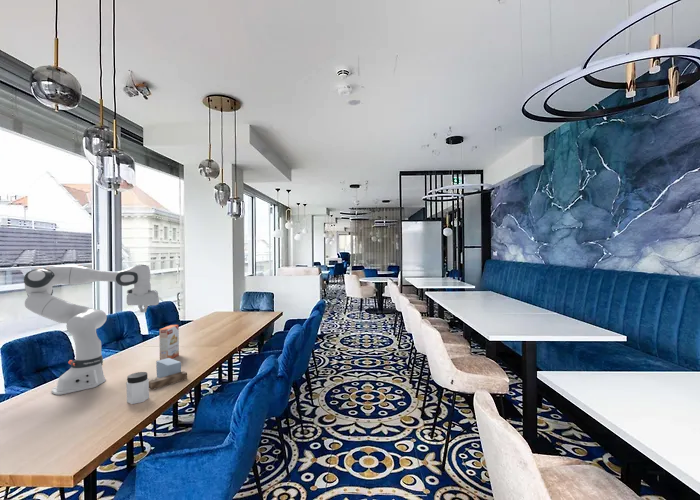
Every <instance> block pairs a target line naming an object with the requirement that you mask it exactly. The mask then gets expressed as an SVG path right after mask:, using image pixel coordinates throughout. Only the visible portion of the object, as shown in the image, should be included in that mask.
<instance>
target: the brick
mask: <svg viewBox="0 0 700 500" xmlns="http://www.w3.org/2000/svg"><path fill="white" fill-rule="evenodd" d="M155 364H156V366H155V367H156V369H155V370H156V378H157V379H158V378H162V377H165V376H169V375H172V374H176V373H179V372H182V361H179V360H177V359H175V358H173V359H171V358H166V359H162V360H160V359H159V360H156V362H155Z"/></svg>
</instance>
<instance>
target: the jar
mask: <svg viewBox="0 0 700 500" xmlns="http://www.w3.org/2000/svg"><path fill="white" fill-rule="evenodd" d="M149 379H150V378H148V372H146V371H138V372H134V373H131V374H129V375H128V376H127V379H126V383H125V384H126V403H128V404H130V405H135V404H140V403H144V402H145V401H147V400H148V399H149V398H150V388H149V381H150V380H149Z"/></svg>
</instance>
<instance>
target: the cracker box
mask: <svg viewBox="0 0 700 500" xmlns="http://www.w3.org/2000/svg"><path fill="white" fill-rule="evenodd" d="M179 327H180V326H179V324H170V325H167V326H165V327H163V328H159V360H162V359H166V358H171V359H175V358H176V357H178V356H179V355H180V345H179V343H180V341H179V340H180V337H179V334H180V333H179V332H180V331H179Z"/></svg>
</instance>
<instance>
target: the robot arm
mask: <svg viewBox="0 0 700 500" xmlns="http://www.w3.org/2000/svg"><path fill="white" fill-rule="evenodd" d="M95 282H112V283H114V282H115V283H117V285H120V286H122V287H128V286H130V285H131V286H132V285H133V286H134V287H133V288H130V289H128V290H127V291H126V294H127V295H126V304H127V306H137V308H139V309H138V310H139V313H147V309H148V307H149V306H157V305H159V304H160V298H159V293H158V291H157V290H155V289H154V290H153V289H152V287H151V286H152V284H151V269H150V267H149V265H147V264H139V263H137V264H134V265H133V266H131V267H129V268H125V269H122V270H119V271H118V270H117V271H109V270H108V271H107V270H98V269H94V268H90V267H85V266H80V265H71V264H70V265H69V264H60V265H58V264H57V265H52V266H50V267H49V268H36V269H31V270H29V271H27V272H26V273H25V275H24V277H23V283H24V289H25V292H26V295H27V297H26V298H25V300H24V306H25V308H26V309H27V310H29V311H31V312H32V313H34V314H36V315H39V316H40V317H43V318H45V319H48V320H50V321H53V322H56V323H59V324H65V326H66V330H67V332H68V333H69V334H71V336H72V339H73V343H74V346H75V347H74V349H75V359H74V360H73V359H69V361H68V362H67V363H68V364H69V365H70V367H69V369H68V370H66V371H65V372H64V373H63V374H61V375H60V376H59V377H58V379H57V383H56V384H57V385H56V386H54V387H52V388H51V393H52V394H53V395H57V396H61V395H65V394H71V393H75V392H76V393H77V392H80V391H84V390H88V389H93V388H96V387H98V386H99V385H102V384H104V382H105V381H107V379H106V376H105V375H104V369H103V363H104V360H103V359H104V358H103V354H102V341H101V339H100V338H99V336H98V334H97V329H99V328H101V327H102V326H104V324H105V323H106V322H107V317H108V316H107V314H106V312H105V311H103V310H101V309H96V308H92V307H87V306H84V305H81V304H80V305H79V304H76V303H73V302H70V301H67V300H65V299H62V298H59V297H57V296H53V294H54V289H53V287H54V286H56V285H68V286H69V285H71V286H74V285H75V286H78V285H87V284H90V283H95Z"/></svg>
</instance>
